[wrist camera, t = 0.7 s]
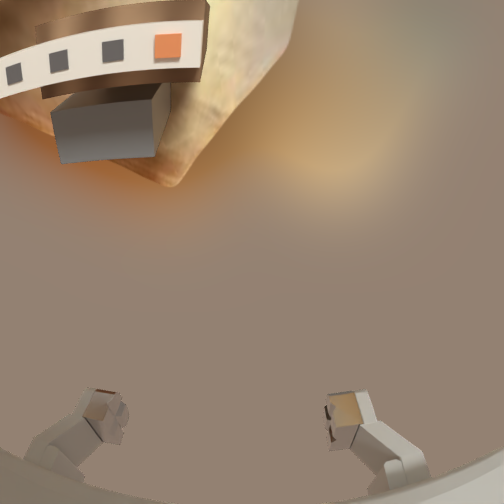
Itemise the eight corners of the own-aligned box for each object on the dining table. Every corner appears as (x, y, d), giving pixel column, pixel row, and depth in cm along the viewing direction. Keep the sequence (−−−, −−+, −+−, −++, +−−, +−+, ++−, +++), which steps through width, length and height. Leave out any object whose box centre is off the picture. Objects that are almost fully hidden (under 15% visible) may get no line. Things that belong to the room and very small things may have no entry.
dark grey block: (98, 117, 47) (61, 164, 35) (94, 77, 42) (50, 112, 29) (170, 111, 49) (154, 156, 37) (170, 70, 44) (151, 99, 31)
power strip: (-26, 102, 18) (-44, 115, 16) (-31, 71, 16) (-50, 82, 13) (201, 61, 22) (199, 68, 20) (203, 20, 19) (202, 21, 17)
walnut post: (114, 54, 39) (42, 99, 21) (114, 12, 34) (35, 26, 16) (206, 48, 42) (200, 81, 24) (209, 5, 36) (205, -1, 18)
